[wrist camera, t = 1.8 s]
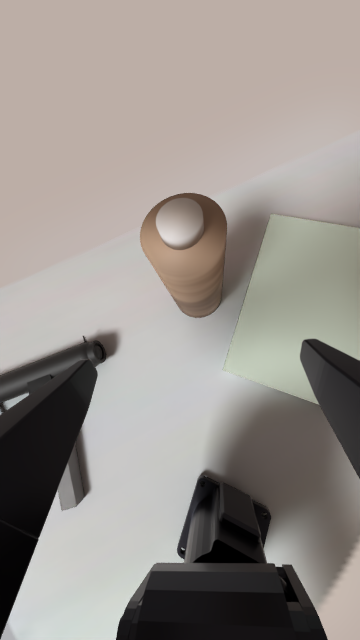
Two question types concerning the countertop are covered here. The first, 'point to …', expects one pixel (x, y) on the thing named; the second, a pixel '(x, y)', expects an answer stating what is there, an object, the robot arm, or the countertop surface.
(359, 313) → the serving board
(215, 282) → the brown capped cylinder
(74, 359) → the door handle
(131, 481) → the countertop surface
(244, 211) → the countertop surface
